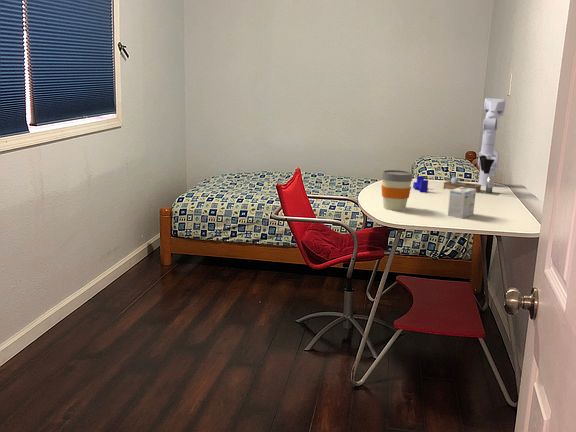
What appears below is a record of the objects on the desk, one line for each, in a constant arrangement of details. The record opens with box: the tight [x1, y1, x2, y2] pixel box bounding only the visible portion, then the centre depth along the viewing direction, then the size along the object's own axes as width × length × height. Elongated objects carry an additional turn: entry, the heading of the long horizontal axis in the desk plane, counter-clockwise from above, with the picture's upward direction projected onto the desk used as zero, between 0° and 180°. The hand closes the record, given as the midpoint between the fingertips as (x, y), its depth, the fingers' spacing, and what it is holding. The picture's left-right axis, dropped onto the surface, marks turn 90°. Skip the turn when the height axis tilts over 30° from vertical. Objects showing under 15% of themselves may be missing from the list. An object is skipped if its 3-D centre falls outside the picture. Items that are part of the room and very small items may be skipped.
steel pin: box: [485, 176, 495, 193], centre depth 312 cm, size 3×3×8 cm
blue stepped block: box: [412, 175, 429, 194], centre depth 313 cm, size 12×4×6 cm, turn 0°
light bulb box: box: [447, 187, 477, 219], centre depth 261 cm, size 11×7×11 cm, turn 141°
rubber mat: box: [480, 190, 502, 196], centre depth 312 cm, size 8×8×1 cm
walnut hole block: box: [443, 180, 482, 193], centre depth 319 cm, size 8×16×3 cm, turn 59°
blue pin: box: [450, 176, 459, 184], centre depth 320 cm, size 3×3×6 cm
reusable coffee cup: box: [381, 169, 413, 212], centre depth 268 cm, size 13×13×15 cm
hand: (485, 172), depth 310 cm, fingers open, 7 cm apart
